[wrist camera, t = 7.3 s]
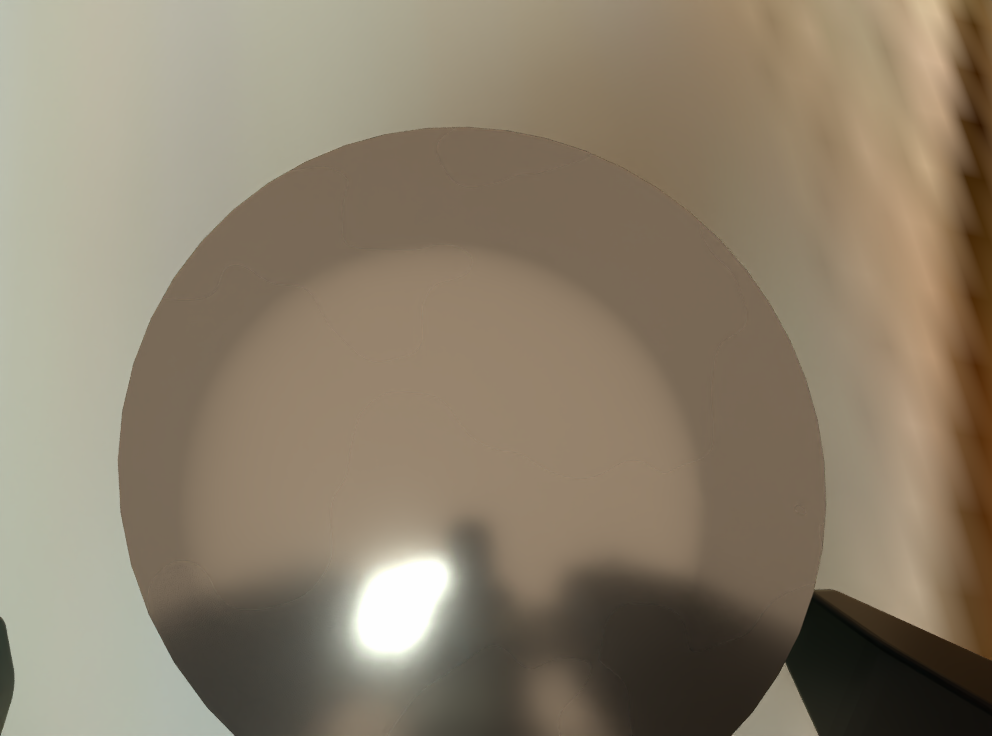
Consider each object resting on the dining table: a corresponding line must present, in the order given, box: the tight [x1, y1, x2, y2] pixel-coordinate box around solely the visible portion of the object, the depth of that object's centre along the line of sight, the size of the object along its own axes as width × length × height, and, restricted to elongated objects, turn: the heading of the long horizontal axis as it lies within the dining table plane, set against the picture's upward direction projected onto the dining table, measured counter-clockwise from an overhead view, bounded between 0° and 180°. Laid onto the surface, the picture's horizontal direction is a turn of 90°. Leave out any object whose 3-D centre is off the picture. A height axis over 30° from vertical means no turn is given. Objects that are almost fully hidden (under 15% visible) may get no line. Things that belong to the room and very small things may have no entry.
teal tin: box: [118, 127, 826, 736], centre depth 14 cm, size 6×6×13 cm
